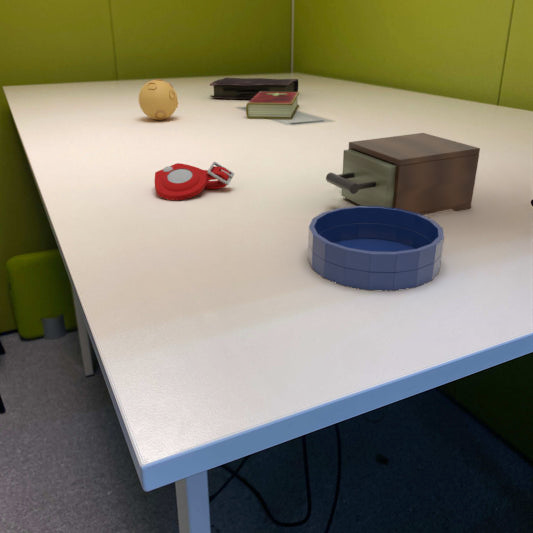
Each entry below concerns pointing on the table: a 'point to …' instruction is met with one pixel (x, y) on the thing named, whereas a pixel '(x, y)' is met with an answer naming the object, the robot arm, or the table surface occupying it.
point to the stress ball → (158, 99)
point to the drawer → (365, 179)
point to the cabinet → (427, 171)
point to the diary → (251, 87)
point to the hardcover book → (272, 105)
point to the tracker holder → (189, 180)
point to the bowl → (375, 247)
